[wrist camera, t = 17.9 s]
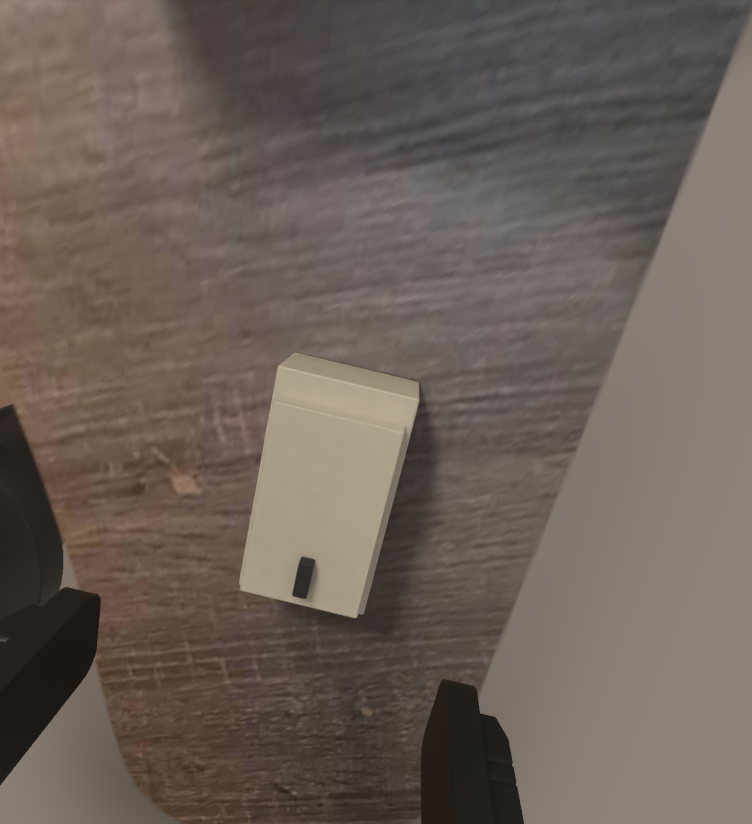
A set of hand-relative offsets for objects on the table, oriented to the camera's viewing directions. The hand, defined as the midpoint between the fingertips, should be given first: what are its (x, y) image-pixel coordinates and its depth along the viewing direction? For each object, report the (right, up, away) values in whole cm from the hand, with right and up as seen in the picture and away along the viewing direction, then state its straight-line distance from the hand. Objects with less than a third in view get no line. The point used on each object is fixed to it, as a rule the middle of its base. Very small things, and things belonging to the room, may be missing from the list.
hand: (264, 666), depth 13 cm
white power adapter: (+1, +3, +13) cm, 13 cm away
